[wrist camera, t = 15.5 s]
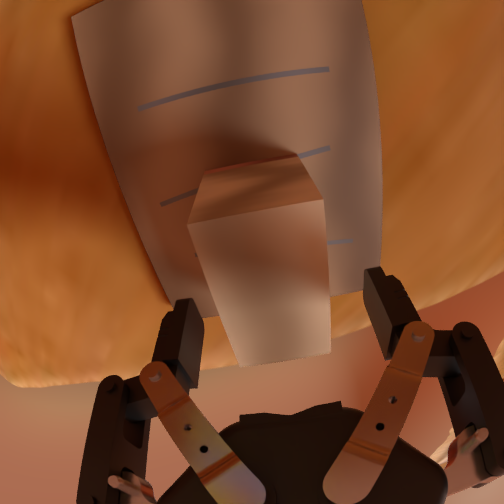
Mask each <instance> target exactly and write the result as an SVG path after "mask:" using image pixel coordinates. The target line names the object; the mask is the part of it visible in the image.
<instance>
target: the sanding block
mask: <svg viewBox="0 0 504 504" xmlns="http://www.w3.org/2000/svg"><path fill="white" fill-rule="evenodd" d="M187 227H188V230H189V233H190V236H191V239H192V241H193V244H194V247H195V250H196V253H197V256H198V259H199V261H200V264H201V267H202V270H203V272H204V275H205V278H206V281H207V283H208V286H209V289H210V292H211V294H212V297H213V300H214V302H215V305H216V308H217V310H218V313H219V315H220V318H221V321H222V323H223V326H224V328H225V331H226V333H227V336H228V338H229V341H230V343H231V346H232V348H233V351H234V353H235V356H236V358H237V361H238V363H239V366H240V367H246V366H255V365H262V364H269V363H276V362H282V361H288V360H295V359H300V358H306V357H312V356H317V355H322V354H327V353H331V319H330V288H329V267H328V250H327V235H326V222H325V210H324V199H323V198H322V196H321V194H320V192H319V190H318V189H317V187H316V185H315V184H314V182H313V180H312V178H311V177H310V175H309V173H308V172H307V170H306V168H305V167H304V165H303V163H302V162H301V160H300V158H299V157H298V155H297V154H291V155H285V156H279V157H273V158H268V159H262V160H257V161H252V162H246V163H241V164H236V165H231V166H227V167H222V168H217V169H213V170H208V171H205V172H204V175H203V178H202V180H201V183H200V186H199V189H198V192H197V195H196V198H195V201H194V204H193V207H192V210H191V213H190V216H189V219H188V222H187Z"/></svg>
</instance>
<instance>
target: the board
mask: <svg viewBox="0 0 504 504" xmlns="http://www.w3.org/2000/svg"><path fill="white" fill-rule="evenodd" d="M71 19H72V24H73V29H74V34H75V38H76V43H77V47H78V52H79V56H80V60H81V64H82V68H83V72H84V76H85V80H86V84H87V87H88V91H89V94H90V98H91V101H92V105H93V108H94V112H95V115H96V118H97V121H98V125H99V128H100V131H101V134H102V137H103V140H104V143H105V146H106V149H107V152H108V155H109V158H110V161H111V164H112V166H113V169H114V172H115V175H116V177H117V180H118V183H119V185H120V188H121V191H122V193H123V196H124V199H125V201H126V204H127V206H128V209H129V211H130V214H131V216H132V219H133V221H134V223H135V226H136V228H137V231H138V233H139V235H140V238H141V240H142V242H143V245H144V247H145V249H146V252H147V254H148V256H149V258H150V261H151V263H152V265H153V267H154V269H155V272H156V274H157V276H158V278H159V280H160V282H161V284H162V287H163V289H164V291H165V293H166V295H167V297H168V299H169V301H170V303H171V305H172V307H173V309H174V306H175V302H176V300H178V299H185V298H193V299H194V301H195V304H196V306H197V308H198V310H199V313H200V315H201V317H202V318H206V317H214V316H220V315H219V313H218V310H217V308H216V305H215V302H214V300H213V297H212V294H211V292H210V289H209V286H208V283H207V281H206V278H205V275H204V272H203V270H202V267H201V264H200V261H199V259H198V256H197V253H196V250H195V247H194V244H193V241H192V239H191V236H190V233H189V230H188V227H187V222H188V219H189V216H190V213H191V210H192V207H193V204H194V201H195V198H196V195H197V192H198V189H199V186H200V183H201V180H202V178H203V175H204V172H205V171H208V170H213V169H217V168H222V167H227V166H231V165H236V164H241V163H246V162H252V161H257V160H262V159H268V158H273V157H279V156H285V155H291V154H297V155H298V157H299V158H300V160H301V162H302V163H303V165H304V167H305V168H306V170H307V172H308V173H309V175H310V177H311V178H312V180H313V182H314V184H315V185H316V187H317V189H318V190H319V192H320V194H321V196H322V198H323V199H324V210H325V222H326V235H327V250H328V267H329V288H330V297H332V296H337V295H342V294H347V293H352V292H357V291H361V290H363V283H364V270H365V269H368V268H373V267H378V266H380V258H381V239H382V151H381V133H380V119H379V108H378V97H377V88H376V80H375V72H374V65H373V58H372V52H371V46H370V40H369V34H368V29H367V24H366V19H365V14H364V10H363V5H362V1H361V0H104V1H102V2H100V3H97V4H95V5H93V6H91V7H89V8H87V9H85V10H83V11H82V12H80V13H78V14H76V15H74V16H72V17H71Z"/></svg>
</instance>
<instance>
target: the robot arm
mask: <svg viewBox="0 0 504 504" xmlns="http://www.w3.org/2000/svg"><path fill="white" fill-rule="evenodd" d="M363 299H364V304H365V307H366V310H367V312H368V315H369V318H370V320H371V323H372V326H373V328H374V331H375V334H376V336H377V339H378V342H379V345H380V347H381V350H382V353H383V356H384V359H385V360H390V359H391V361H390V364H389V366H387V367H386V369H385V371H384V373H383V375H382V378H381V380H380V382H379V384H378V386H377V388H376V390H375V392H374V394H373V396H372V398H371V400H370V402H369V404H368V406H367V408H366V410H365V412H363V411H360V410H357V409H353V408H348V407H342V405H341V401H338V402H333V403H328V404H322V405H317V406H314V407H311V408H309V409H306V410H304V411H302V412H299V413H296V414H293V415H280V414H271V413H256V414H246V415H240V421H239V422H236V423H234V424H232V425H230V426H228V427H226V428H225V429H223V430H222V431H221V432H220V433H218V432H217V431H216V430H215V429H214V427H213V426H212V425H211V424H210V423H209V421H208V420H207V419H206V418H205V416H204V415H203V414H202V412H201V411H200V410H199V409H198V408H197V406H196V405H195V403H194V402H193V401H192V399H191V398H190V397H189V389H192V388H198V379H199V371H200V362H201V354H202V346H203V338H204V323H203V319H202V317H201V315H200V313H199V310H198V308H197V306H196V304H195V301H194V299H193V298H185V299H178V300H176V302H175V306H174V310H173V311H169V312H168V313H167V314H166V315H165V317H164V318H163V319H162V322H161V326H160V330H159V334H158V338H157V341H156V345H155V349H154V353H153V357H152V361H151V363H149V364H147V365H146V366H145V367H144V368H143V369H142V371H141V373H140V375H139V376H136V377H133V378H130V379H127V380H124V381H123V379H122V378H121V377H119V376H117V375H111V376H108V377H106V378H105V379H103V380H102V381H101V383H100V384H99V387H98V391H97V394H96V398H95V403H94V406H93V411H92V415H91V420H90V424H89V429H88V433H87V439H86V443H85V448H84V454H83V459H82V466H81V472H80V478H79V485H78V491H77V500H76V503H77V504H444V502H445V499H446V497H447V496H450V495H453V494H455V493H458V492H460V491H463V490H465V489H467V488H470V487H473V488H479V487H481V486H484V485H486V484H487V483H490V482H491V481H493V480H495V479H497V478H499V477H501V476H502V475H504V382H503V380H502V377H501V375H500V373H499V370H498V368H497V366H496V364H495V361H494V359H493V357H492V355H491V353H490V351H489V349H488V347H487V344H486V342H485V340H484V339H483V336H482V334H481V332H480V331H479V329H478V328H477V327H476V326H475V325H474V324H472V323H470V322H460V323H458V324H456V325H455V326H454V328H453V330H444V331H443V330H434V329H432V327H431V326H430V325H429V324H427V323H425V322H422V321H421V319H420V317H419V315H418V313H417V311H416V309H415V307H414V305H413V304H412V302H411V300H410V298H409V297H408V294H407V292H406V291H405V289H404V287H403V285H402V283H401V282H400V281H399V280H398V279H397V278H396V277H394V276H393V275H389V276H386V275H385V273H384V271H383V270H382V268H381V267H380V266H378V267H373V268H368V269H365V270H364V283H363ZM422 377H438V380H439V383H440V386H441V389H442V392H443V395H444V398H445V401H446V405H447V407H448V411H449V415H450V418H451V422H452V425H453V429H454V433H455V437H456V438H455V439H454V440H453V441H452V443H451V444H450V446H449V448H448V462H447V465H446V467H445V468H444V470H443V469H442V467H441V466H440V465H439V464H438V463H436V462H435V461H433V460H432V459H430V458H429V457H427V456H426V455H424V454H423V453H421V452H420V451H419V450H417V449H416V448H414V447H413V446H411V445H410V444H409V443H407V442H406V441H404V440H403V439H402V438H400V437H399V434H400V432H401V430H402V428H403V425H404V423H405V421H406V418H407V416H408V414H409V411H410V409H411V406H412V404H413V401H414V399H415V396H416V394H417V391H418V388H419V385H420V383H421V380H422ZM157 416H158V417H159V419H160V421H161V422H162V424H163V425H164V427H165V429H166V430H167V432H168V433H169V435H170V436H171V438H172V439H173V441H174V442H175V444H176V445H177V447H178V448H179V450H180V451H181V453H182V454H183V456H184V457H185V458H186V460H187V461H188V463H189V464H190V466H189V467H188V469H186V471H185V472H184V473H183V474H182V475H181V476H180V477H179V478H178V479H177V480H176V481H175V483H173V485H172V486H171V487H170V488H169V489H168V490H167V491H166V492H165V493H164V494H163V495H162V496H161V497H160V498H159V500H158V501H156V500H155V498H154V492H153V488H152V486H151V484H150V483H149V482H147V481H146V480H145V474H146V462H147V451H148V441H149V431H150V422H151V418H153V417H157Z"/></svg>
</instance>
